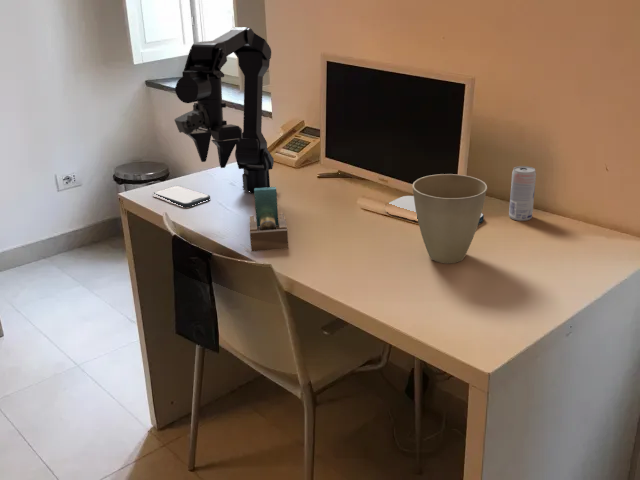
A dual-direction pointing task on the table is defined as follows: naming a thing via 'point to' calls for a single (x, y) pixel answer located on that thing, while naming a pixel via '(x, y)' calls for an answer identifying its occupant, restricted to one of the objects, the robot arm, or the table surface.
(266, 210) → the teal upright block
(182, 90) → the robot arm
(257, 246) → the walnut track with socket
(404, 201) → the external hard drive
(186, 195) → the phone case
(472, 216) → the plant pot
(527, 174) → the energy drink
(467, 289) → the table surface
